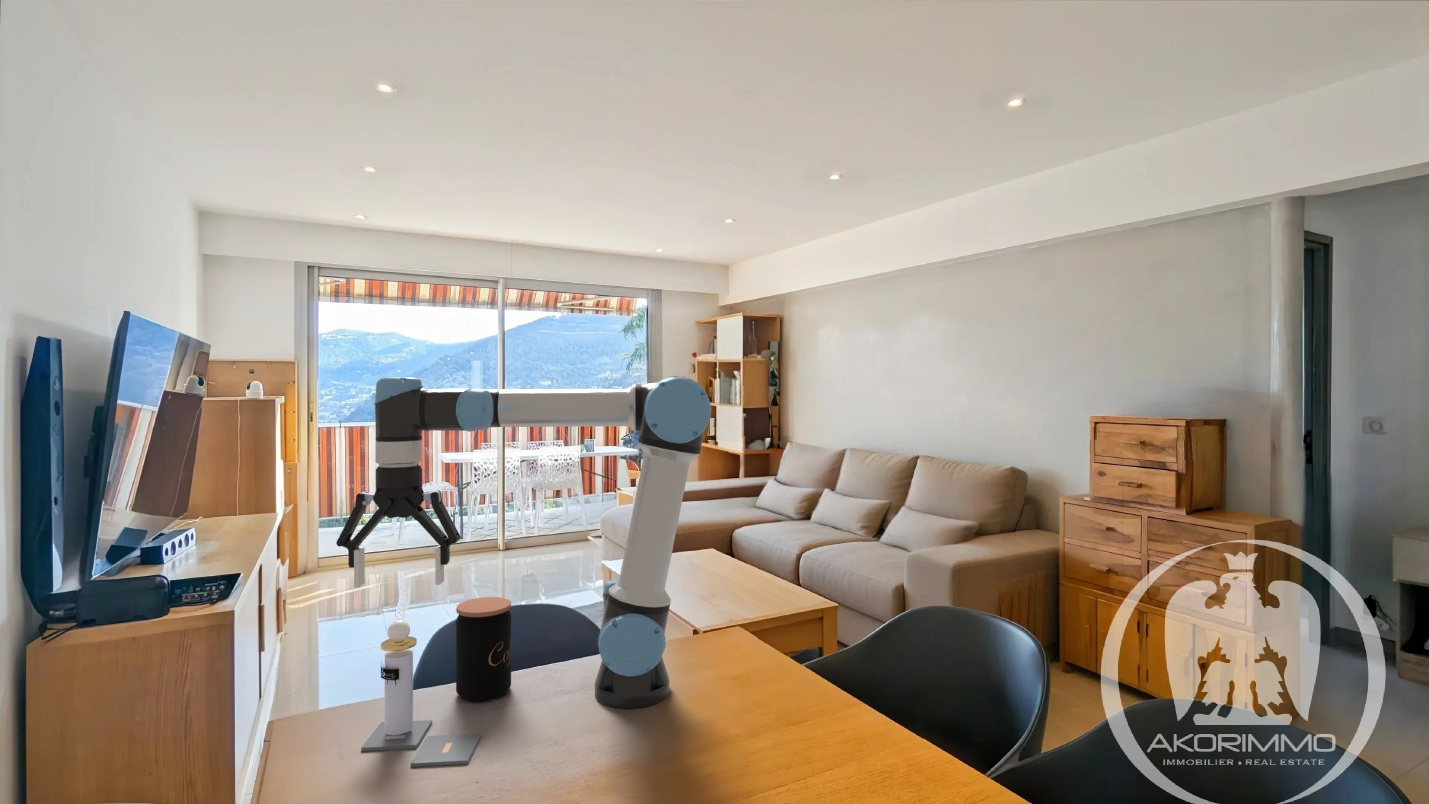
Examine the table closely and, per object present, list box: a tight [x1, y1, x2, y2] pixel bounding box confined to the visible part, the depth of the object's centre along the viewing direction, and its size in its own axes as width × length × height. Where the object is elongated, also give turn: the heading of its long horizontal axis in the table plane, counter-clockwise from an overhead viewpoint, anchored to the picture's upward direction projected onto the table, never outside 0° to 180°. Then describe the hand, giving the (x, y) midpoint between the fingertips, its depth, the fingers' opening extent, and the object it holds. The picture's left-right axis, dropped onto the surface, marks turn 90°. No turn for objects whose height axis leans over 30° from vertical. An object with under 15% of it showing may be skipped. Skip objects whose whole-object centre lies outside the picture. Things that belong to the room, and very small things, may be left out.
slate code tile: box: [360, 719, 433, 752], centre depth 121 cm, size 9×9×1 cm
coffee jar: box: [455, 596, 512, 704], centre depth 139 cm, size 11×11×18 cm
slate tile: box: [410, 732, 482, 768], centre depth 116 cm, size 9×9×1 cm
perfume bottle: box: [380, 619, 418, 735], centre depth 121 cm, size 6×6×20 cm
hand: (399, 584), depth 121 cm, fingers open, 13 cm apart
